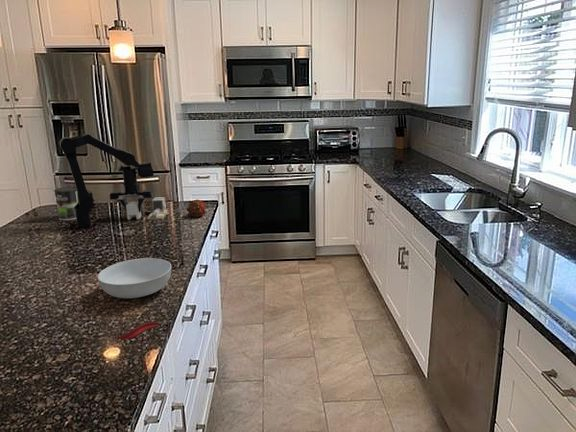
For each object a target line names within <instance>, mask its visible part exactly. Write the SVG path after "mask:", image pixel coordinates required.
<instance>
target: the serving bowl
mask: <svg viewBox="0 0 576 432" xmlns="http://www.w3.org/2000/svg"><path fill="white" fill-rule="evenodd" d="M171 274H172V264H171V262H170V261H167V260H165V259H161V258H154V257H143V258H142V257H141V258H135V259H128V260H123V261H120V262H117V263H114V264H112V265H109V266H107V267H106V268H104V269H102V270H101V271H99V273H98V275H97V277H96V278H97V280H98V284H99V286H100V287H101V289H102V290H103V291H104V293H106V294H107V295H110V296H112V297H115V298H118V299H137V298H143V297H146V296H149V295H152V294H154V293H156V292H159V291H160V290H161V289H162V288H164V287H165V286H166V285H167V283H168V282H169V280H170V279H171Z"/></svg>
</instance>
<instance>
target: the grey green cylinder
mask: <svg viewBox="0 0 576 432" xmlns="http://www.w3.org/2000/svg"><path fill="white" fill-rule="evenodd" d="M53 192H54V197H55V202H56V209H57V214H58V220H59V221H72V220H73V221H74V220H76V212H75V209H74V207H75V206H76V204H77V203H78V197H77V188H76V186H66V187H65V186H63V187H58V188H56V189H54V190H53Z"/></svg>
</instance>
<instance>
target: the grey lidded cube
mask: <svg viewBox="0 0 576 432" xmlns="http://www.w3.org/2000/svg"><path fill="white" fill-rule="evenodd" d="M126 209H127V211H126V215H127V216H126V218H127V220H128V221H129V220H131V219H132V218H133V216H136V217H135V218H136V220H139V219H141V217H142V211H141V212H139V207H138V201H128V202H127V204H126Z"/></svg>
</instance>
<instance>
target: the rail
mask: <svg viewBox="0 0 576 432" xmlns="http://www.w3.org/2000/svg"><path fill="white" fill-rule="evenodd" d="M151 201H152V211H151V212H150V213H149V215H148V216H147V217H146V221H161V220H164V218H165V217H166V215H167V213H169V208H166V207H167V205H166V197H165V196H164V197H162V196H161V197H160V196H159V197H157V196H156V197H154V198H153V199H152V200H151Z"/></svg>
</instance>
